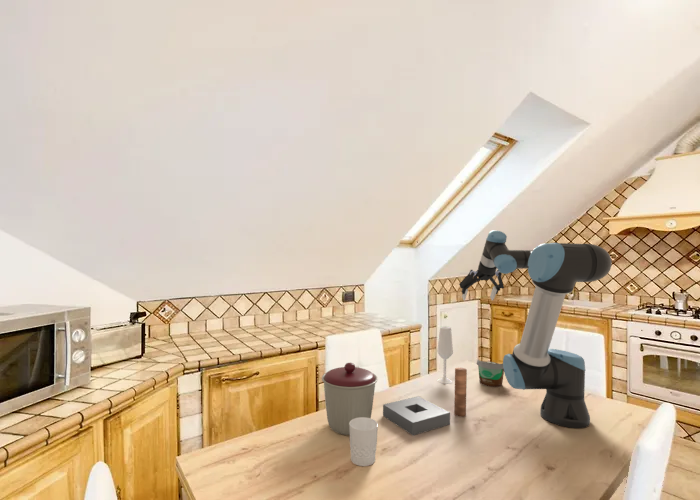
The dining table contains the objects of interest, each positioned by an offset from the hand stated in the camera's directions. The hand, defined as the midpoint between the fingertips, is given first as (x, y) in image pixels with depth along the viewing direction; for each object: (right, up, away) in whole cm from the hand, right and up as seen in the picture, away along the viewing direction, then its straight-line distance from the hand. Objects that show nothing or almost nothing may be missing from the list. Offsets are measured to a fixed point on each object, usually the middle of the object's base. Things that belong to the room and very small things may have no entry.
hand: (477, 298), depth 180 cm
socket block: (-38, -35, -50) cm, 72 cm away
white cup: (-57, -35, -75) cm, 101 cm away
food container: (0, -36, -15) cm, 39 cm away
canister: (-61, -35, -57) cm, 90 cm away
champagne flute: (-18, -36, -11) cm, 41 cm away
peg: (-21, -35, -45) cm, 61 cm away
